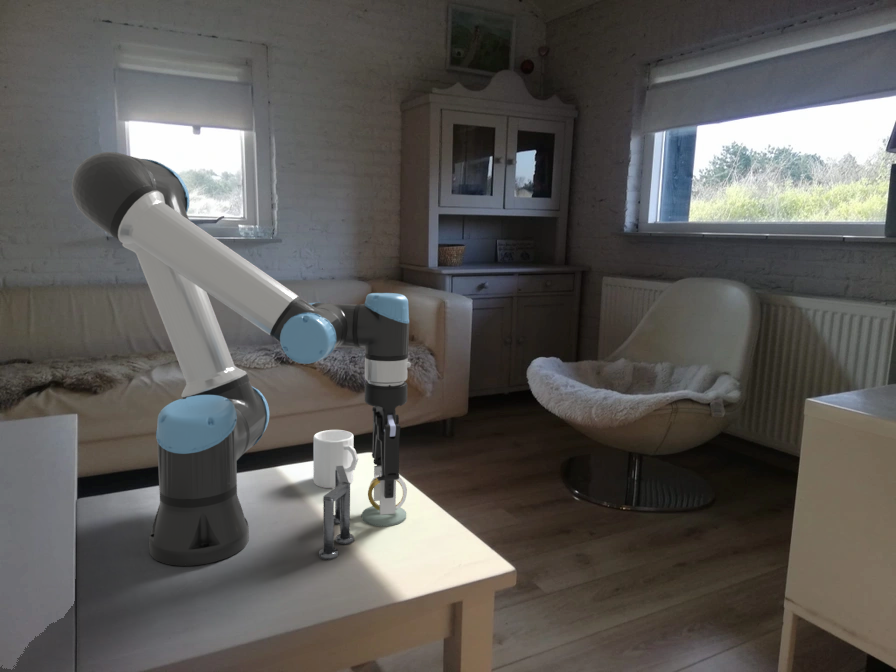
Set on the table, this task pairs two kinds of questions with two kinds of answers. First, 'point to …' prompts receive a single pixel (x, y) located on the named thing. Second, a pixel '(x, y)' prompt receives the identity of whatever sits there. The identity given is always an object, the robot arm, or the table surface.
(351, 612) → the table surface
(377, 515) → the felt coaster
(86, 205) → the robot arm
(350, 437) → the mug
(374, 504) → the ring
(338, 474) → the bent grey rail
